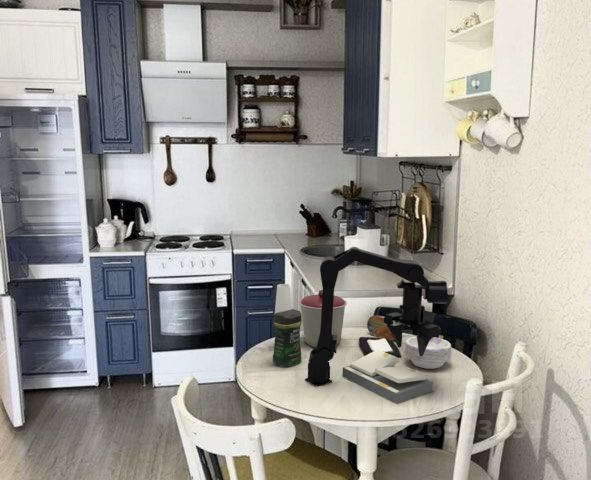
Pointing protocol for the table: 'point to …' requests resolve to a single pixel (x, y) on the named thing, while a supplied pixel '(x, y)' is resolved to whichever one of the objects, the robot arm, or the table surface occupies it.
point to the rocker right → (400, 374)
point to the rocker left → (374, 362)
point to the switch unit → (389, 385)
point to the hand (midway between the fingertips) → (410, 351)
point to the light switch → (378, 346)
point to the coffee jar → (287, 338)
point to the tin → (379, 328)
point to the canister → (312, 317)
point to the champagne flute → (283, 298)
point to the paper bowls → (428, 353)
